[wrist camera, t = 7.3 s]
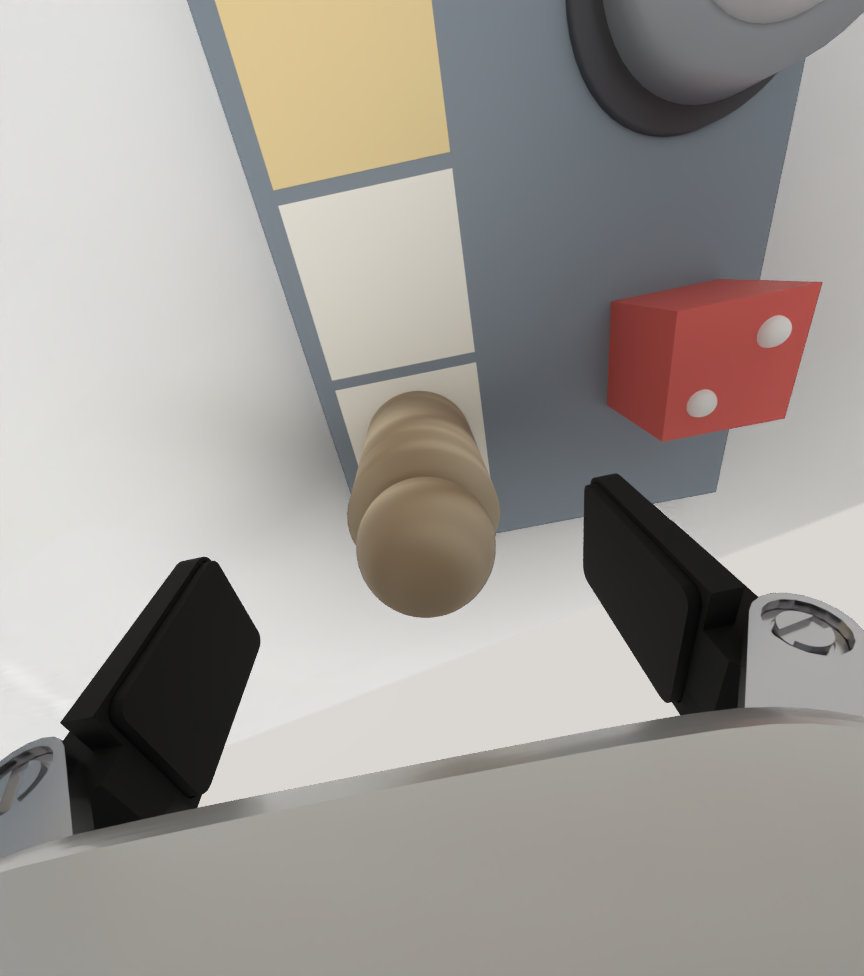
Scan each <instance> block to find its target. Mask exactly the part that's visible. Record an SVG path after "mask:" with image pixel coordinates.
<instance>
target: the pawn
mask: <svg viewBox="0 0 864 976" xmlns="http://www.w3.org/2000/svg"><path fill="white" fill-rule="evenodd" d="M347 519H348V527H349V531H350V534H351V537H352V539H353V541H354V543H355V545H356V554H357V560H358V565H359V568H360V571H361V574H362V576H363V579H364V581H365V582H366V584H367V586H368V587H369V589H370V590H371V591H372V593H373V594H374V595H375V596H376V597H377V598H378V599H379V600H380V601H382V602H383V603H384V604H385V605H387V606H388V607H390V608H392V609H393V610H395V611H398V612H400V613H402V614H405V615H409V616H413V617H421V618H430V617H438V616H443V615H446V614H449V613H452V612H454V611H456V610H458V609H460V608H462V607H463V606H465V605H466V604H468V603H469V602H470V601H471V600H472V599H474V598H475V597H476V595H477V594H478V593H479V592H480V591H481V590H482V588H483V587H484V585H485V584H486V582H487V580H488V578H489V576H490V574H491V571H492V568H493V564H494V559H495V535H496V532H497V529H498V526H499V520H500V505H499V500H498V496H497V493H496V491H495V488H494V486H493V483H492V481H491V478H490V476H489V473H488V471H487V468H486V466H485V463H484V461H483V459H482V456H481V454H480V451H479V449H478V446H477V444H476V441H475V439H474V436H473V434H472V431H471V429H470V426H469V424H468V422H467V420H466V417H465V416H464V414H463V413H462V411H461V410H460V409H459V408H458V407H457V406H456V405H455V404H454V403H453V402H452V401H450V400H449V399H447V398H446V397H444V396H442V395H439V394H436V393H433V392H428V391H410V392H405V393H402V394H399V395H397V396H395V397H393V398H391V399H389V400H388V401H387V402H385V403H384V404H383V405H382V406H381V407H380V408H379V409H378V410H377V412H376V413H375V414H374V416H373V418H372V420H371V422H370V424H369V428H368V432H367V436H366V439H365V443H364V447H363V451H362V455H361V459H360V462H359V466H358V470H357V474H356V478H355V481H354V485H353V489H352V493H351V497H350V501H349V504H348V512H347Z"/></svg>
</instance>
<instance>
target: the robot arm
mask: <svg viewBox="0 0 864 976" xmlns="http://www.w3.org/2000/svg"><path fill="white" fill-rule="evenodd" d="M583 569H584V574H585V577H586V580H587V581H588V583H589V585H590V586H591V588H592V589H593V591H594V593H595V594H596V596H597V597H598V599H599V601H600V602H601V604H602V605H603V607H604V608H605V610H606V611H607V613H608V615H609V616H610V618H611V620H612V621H613V623H614V624H615V626H616V628H617V629H618V631H619V632H620V634H621V635H622V637H623V638H624V640H625V642H626V643H627V645H628V647H629V648H630V650H631V651H632V653H633V654H634V656H635V658H636V659H637V661H638V662H639V664H640V666H641V667H642V669H643V670H644V672H645V673H646V675H647V677H648V678H649V680H650V681H651V683H652V685H653V686H654V688H655V689H656V691H657V693H658V694H659V696H660V697H661V698H662V699H663V700H664V701H665V702H666V703H669V702H672V703H673V704H674V706H675V707H676V709H677V711H678V712H679V714H680V715H681V716H675V717H669V718H663V719H657V720H651V721H646V722H640V723H634V724H628V725H622V726H617V727H611V728H605V729H599V730H594V731H589V732H584V733H578V734H573V735H568V736H562V737H557V738H552V739H547V740H541V741H536V742H531V743H526V744H521V745H515V746H510V747H505V748H499V749H494V750H489V751H484V752H478V753H473V754H468V755H462V756H457V757H452V758H447V759H442V760H437V761H432V762H427V763H421V764H417V765H412V766H406V767H401V768H396V769H391V770H386V771H380V772H375V773H370V774H365V775H361V776H355V777H350V778H345V779H340V780H335V781H329V782H325V783H319V784H314V785H309V786H304V787H299V788H294V789H289V790H284V791H279V792H274V793H269V794H264V795H260V796H254V797H249V798H245V799H239V800H234V801H230V802H225V803H219V804H215V805H210V806H205V807H200V808H197V807H198V804H199V801H200V799H201V796H202V794H204V793H205V792H206V791H207V790H208V788H209V787H210V785H211V782H212V780H213V777H214V774H215V771H216V768H217V766H218V763H219V760H220V757H221V754H222V752H223V749H224V746H225V743H226V740H227V737H228V735H229V732H230V729H231V726H232V723H233V721H234V718H235V715H236V712H237V709H238V706H239V704H240V701H241V698H242V695H243V692H244V690H245V687H246V684H247V681H248V678H249V676H250V673H251V670H252V667H253V664H254V661H255V659H256V656H257V653H258V650H259V647H260V635H259V632H258V630H257V629H256V627H255V625H254V624H253V622H252V620H251V618H250V617H249V615H248V613H247V612H246V610H245V608H244V606H243V605H242V603H241V601H240V600H239V598H238V596H237V595H236V593H235V591H234V589H233V588H232V586H231V584H230V583H229V581H228V579H227V577H226V576H225V574H224V572H223V571H222V569H221V567H220V566H219V564H218V563H217V562H216V561H211V560H210V559H209V558H207V557H200V558H196V559H191V560H186V561H182V562H179V563H178V564H177V565H176V567H175V568H174V569H173V571H172V572H171V573H170V575H169V576H168V578H167V579H166V580H165V582H164V583H163V584H162V586H161V587H160V588H159V590H158V591H157V592H156V594H155V595H154V596H153V598H152V599H151V601H150V602H149V603H148V605H147V606H146V607H145V609H144V610H143V611H142V613H141V614H140V615H139V617H138V618H137V620H136V621H135V622H134V624H133V625H132V626H131V628H130V629H129V630H128V632H127V633H126V634H125V636H124V637H123V638H122V640H121V641H120V643H119V644H118V645H117V647H116V648H115V649H114V651H113V652H112V653H111V655H110V656H109V657H108V659H107V660H106V662H105V663H104V664H103V666H102V667H101V668H100V670H99V671H98V672H97V674H96V675H95V676H94V678H93V679H92V680H91V682H90V683H89V685H88V686H87V687H86V689H85V690H84V691H83V693H82V694H81V695H80V697H79V698H78V699H77V701H76V702H75V704H74V705H73V706H72V708H71V709H70V710H69V712H68V713H67V714H66V716H65V717H64V718H63V720H62V721H61V722H60V723H61V724H62V725H63V726H64V727H65V728H67V729H68V730H69V731H70V732H69V733H68V735H67V736H66V737H65V739H64V740H63V741H62V740H61V739H58V738H56V737H46V738H41V739H38V740H36V741H33V742H30V743H28V744H26V745H24V746H23V747H21V748H19V749H17V750H16V751H14V752H12V753H11V754H9V755H8V756H7V757H5V758H4V759H3V760H1V761H0V976H864V630H862V628H861V627H860V626H859V625H858V624H857V623H856V622H855V621H854V620H853V619H852V618H850V617H849V616H847V615H846V614H844V613H843V612H841V611H840V610H838V609H837V608H834V607H832V606H830V605H828V604H826V603H824V602H822V601H819V600H816V599H813V598H810V597H806V596H803V595H797V594H791V593H770V594H767V595H763V596H760V597H758V596H756V595H755V594H754V593H753V592H752V591H751V590H750V589H749V588H747V587H746V586H745V585H744V584H743V583H742V582H741V581H740V580H738V579H737V578H736V577H735V576H734V575H733V574H732V573H731V572H729V571H728V570H727V569H726V568H725V567H724V566H723V565H722V564H720V563H719V562H718V561H717V560H716V559H715V558H714V557H713V556H711V555H710V554H709V553H708V552H707V551H706V550H705V549H704V548H702V547H701V546H700V545H699V544H698V543H697V542H696V541H695V540H693V539H692V538H691V537H690V536H689V535H688V534H687V533H686V532H684V531H683V530H682V529H681V528H680V527H679V526H678V525H677V524H675V523H674V522H673V521H671V520H670V519H669V518H668V517H666V516H665V515H664V514H663V513H662V512H661V511H660V510H659V509H658V508H656V507H655V506H654V505H653V504H652V503H651V502H650V501H649V500H647V499H646V498H645V497H644V496H643V495H642V494H641V493H640V492H638V491H637V490H636V489H635V488H634V487H633V486H632V485H631V484H629V483H628V482H627V481H626V480H625V479H624V478H623V477H622V476H620V475H619V474H617V473H614V474H609V475H604V476H599V477H594V478H593V479H592V480H591V483H590V484H589V485H586V486H585V488H584V547H583Z"/></svg>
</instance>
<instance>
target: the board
mask: <svg viewBox="0 0 864 976" xmlns="http://www.w3.org/2000/svg"><path fill="white" fill-rule="evenodd" d="M187 2H188V5H189V8H190V11H191V14H192V17H193V20H194V23H195V26H196V29H197V32H198V35H199V38H200V41H201V44H202V47H203V50H204V53H205V56H206V59H207V62H208V65H209V68H210V71H211V74H212V77H213V80H214V83H215V86H216V89H217V92H218V95H219V98H220V101H221V104H222V107H223V110H224V113H225V116H226V119H227V122H228V125H229V128H230V131H231V134H232V137H233V140H234V143H235V146H236V149H237V152H238V155H239V158H240V161H241V164H242V167H243V170H244V173H245V176H246V179H247V182H248V185H249V188H250V191H251V194H252V197H253V200H254V203H255V206H256V209H257V212H258V215H259V218H260V221H261V225H262V228H263V231H264V234H265V237H266V240H267V243H268V246H269V249H270V252H271V255H272V258H273V261H274V264H275V267H276V270H277V273H278V276H279V279H280V282H281V285H282V288H283V291H284V294H285V297H286V300H287V303H288V306H289V309H290V312H291V315H292V318H293V321H294V324H295V327H296V330H297V333H298V336H299V339H300V342H301V345H302V348H303V351H304V354H305V357H306V360H307V363H308V366H309V369H310V372H311V375H312V378H313V381H314V384H315V387H316V390H317V393H318V396H319V399H320V402H321V405H322V408H323V411H324V414H325V417H326V420H327V423H328V426H329V429H330V432H331V435H332V438H333V441H334V444H335V447H336V450H337V453H338V456H339V459H340V462H341V465H342V468H343V471H344V474H345V478H346V481H347V484H348V487H349V490H350V493H352V489H353V485H354V481H355V478H356V474H357V470H358V466H359V462H360V459H361V455H362V451H363V447H364V443H365V439H366V436H367V432H368V428H369V424H370V422H371V420H372V418H373V416H374V414H375V413H376V412H377V410H378V409H379V408H380V407H381V406H382V405H383V404H384V403H385V402H387V401H388V400H389V399H391V398H393V397H395V396H397V395H399V394H402V393H405V392H410V391H428V392H433V393H436V394H439V395H442V396H444V397H446V398H447V399H449V400H450V401H452V402H453V403H454V404H455V405H456V406H457V407H458V408H459V409H460V410H461V411H462V413H463V414H464V416H465V417H466V420H467V422H468V424H469V426H470V429H471V431H472V434H473V436H474V439H475V441H476V444H477V446H478V449H479V451H480V454H481V456H482V459H483V461H484V463H485V466H486V468H487V471H488V473H489V476H490V478H491V481H492V483H493V486H494V488H495V491H496V493H497V496H498V500H499V505H500V520H499V526H498V529H497V532H496V533H500V532H505V531H511V530H516V529H521V528H527V527H532V526H537V525H543V524H548V523H553V522H559V521H564V520H569V519H575V518H580V517H584V488H585V486H586V485H589V484H590V483H591V480H592V479H593V478H594V477H599V476H604V475H609V474H614V473H617V474H619V475H620V476H622V477H623V478H624V479H625V480H626V481H627V482H628V483H629V484H631V485H632V486H633V487H634V488H635V489H636V490H637V491H638V492H640V493H641V494H642V495H643V496H644V497H645V498H646V499H647V500H649V501H650V502H651V503H652V504H654V503H660V502H665V501H670V500H676V499H681V498H686V497H692V496H697V495H702V494H708V493H713V492H716V489H717V484H718V479H719V474H720V469H721V464H722V460H723V455H724V450H725V445H726V440H727V435H728V430H729V429H732V428H737V427H742V426H747V425H752V424H758V423H763V422H768V421H773V420H778V419H784V418H785V415H786V412H787V408H788V404H789V401H790V397H791V394H792V390H793V386H794V383H795V379H796V376H797V372H798V368H799V365H800V361H801V358H802V354H803V350H804V347H805V343H806V340H807V336H808V332H809V329H810V325H811V322H812V318H813V314H814V311H815V307H816V304H817V300H818V296H819V293H820V289H821V286H822V282H801V281H769V280H760V275H761V271H762V266H763V261H764V256H765V251H766V246H767V241H768V237H769V232H770V227H771V222H772V217H773V212H774V208H775V203H776V198H777V193H778V188H779V183H780V178H781V174H782V169H783V164H784V159H785V154H786V149H787V145H788V140H789V135H790V130H791V125H792V120H793V115H794V111H795V106H796V101H797V96H798V91H799V86H800V82H801V77H802V72H803V67H804V62H805V58H804V59H802V60H800V61H798V62H796V63H794V64H792V65H790V66H789V67H787V68H785V69H783V70H781V71H779V72H777V73H775V74H773V75H771V76H769V77H768V78H766V79H764V80H762V81H760V82H758V83H756V84H754V85H752V86H750V87H749V88H747V89H745V90H743V91H741V92H739V93H737V94H734V95H732V96H730V97H728V98H726V99H723V100H719V101H716V102H713V103H708V104H700V105H683V104H678V103H673V102H669V101H666V100H664V99H662V98H660V97H658V96H656V95H654V94H653V93H651V92H650V91H649V90H647V89H646V88H644V87H643V86H642V85H641V84H640V83H639V82H638V81H637V80H636V79H635V78H634V77H633V76H632V74H631V73H630V71H629V70H628V68H627V67H626V65H625V64H624V63H623V61H622V59H621V57H620V55H619V53H618V51H617V49H616V47H615V45H614V42H613V39H612V36H611V33H610V30H609V27H608V23H607V19H606V14H605V10H604V5H603V0H187Z"/></svg>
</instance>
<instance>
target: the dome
mask: <svg viewBox="0 0 864 976" xmlns="http://www.w3.org/2000/svg"><path fill="white" fill-rule="evenodd" d="M603 5H604V10H605V14H606V19H607V23H608V27H609V30H610V33H611V36H612V39H613V42H614V45H615V47H616V49H617V51H618V53H619V55H620V57H621V59H622V61H623V63H624V64H625V65H626V67H627V68H628V70H629V71H630V73H631V74H632V76H633V77H634V78H635V79H636V80H637V81H638V82H639V83H640V84H641V85H642V86H643V87H644V88H646V89H647V90H649V91H650V92H651V93H653V94H654V95H656V96H658V97H660V98H662V99H664V100H666V101H669V102H673V103H678V104H683V105H700V104H708V103H713V102H716V101H719V100H723V99H726V98H728V97H730V96H732V95H734V94H737V93H739V92H741V91H743V90H745V89H747V88H749V87H750V86H752V85H754V84H756V83H758V82H760V81H762V80H764V79H766V78H768V77H769V76H771V75H773V74H775V73H777V72H779V71H781V70H783V69H785V68H787V67H789V66H790V65H792V64H794V63H796V62H798V61H800V60H802V59H804V58H806V57H807V56H809V55H811V54H812V53H814V52H815V51H817V50H818V49H820V48H822V47H823V46H825V45H826V44H827V43H829V42H830V41H831V40H833V39H834V38H835V37H836V36H838V35H839V34H840V33H841V32H843V31H844V30H845V29H846V28H847V27H848V26H849V25H850V24H851V23H852V22H853V21H855V20H856V19H857V18H858V17H859V16H860V15H861V14H862V13H863V12H864V0H603Z"/></svg>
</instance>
